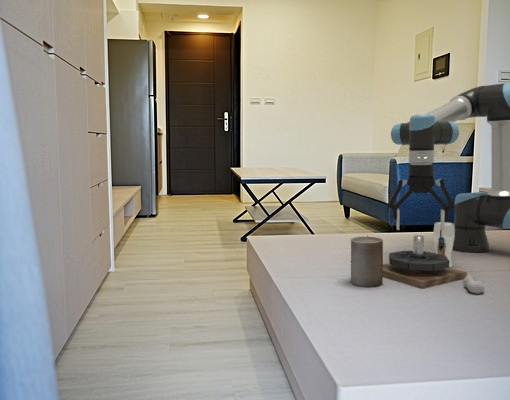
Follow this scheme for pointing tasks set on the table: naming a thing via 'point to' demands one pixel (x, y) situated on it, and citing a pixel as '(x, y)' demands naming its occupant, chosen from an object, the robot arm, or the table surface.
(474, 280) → the smooth white sculpture
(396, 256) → the dark grey faceted disc
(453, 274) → the walnut base
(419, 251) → the steel post
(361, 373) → the table surface
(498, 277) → the table surface
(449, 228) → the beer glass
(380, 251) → the pillar candle
